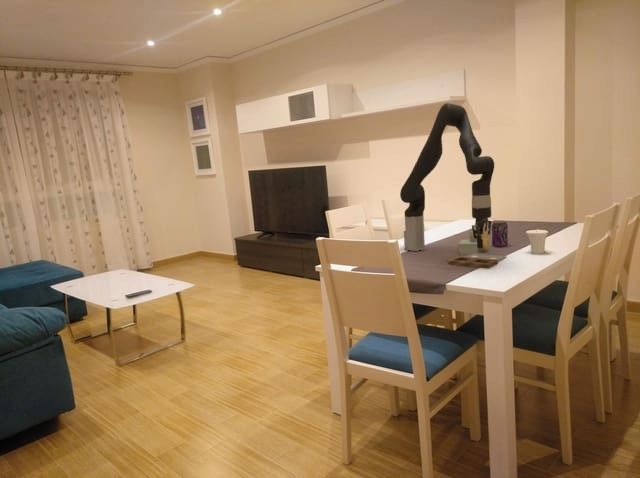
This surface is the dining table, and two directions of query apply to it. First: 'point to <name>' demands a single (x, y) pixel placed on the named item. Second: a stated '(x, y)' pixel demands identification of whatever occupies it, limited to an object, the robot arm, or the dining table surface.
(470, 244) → the green cover
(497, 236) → the beverage can
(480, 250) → the brass pin
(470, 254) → the grey mat
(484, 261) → the walnut frame
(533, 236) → the cup
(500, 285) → the dining table surface
